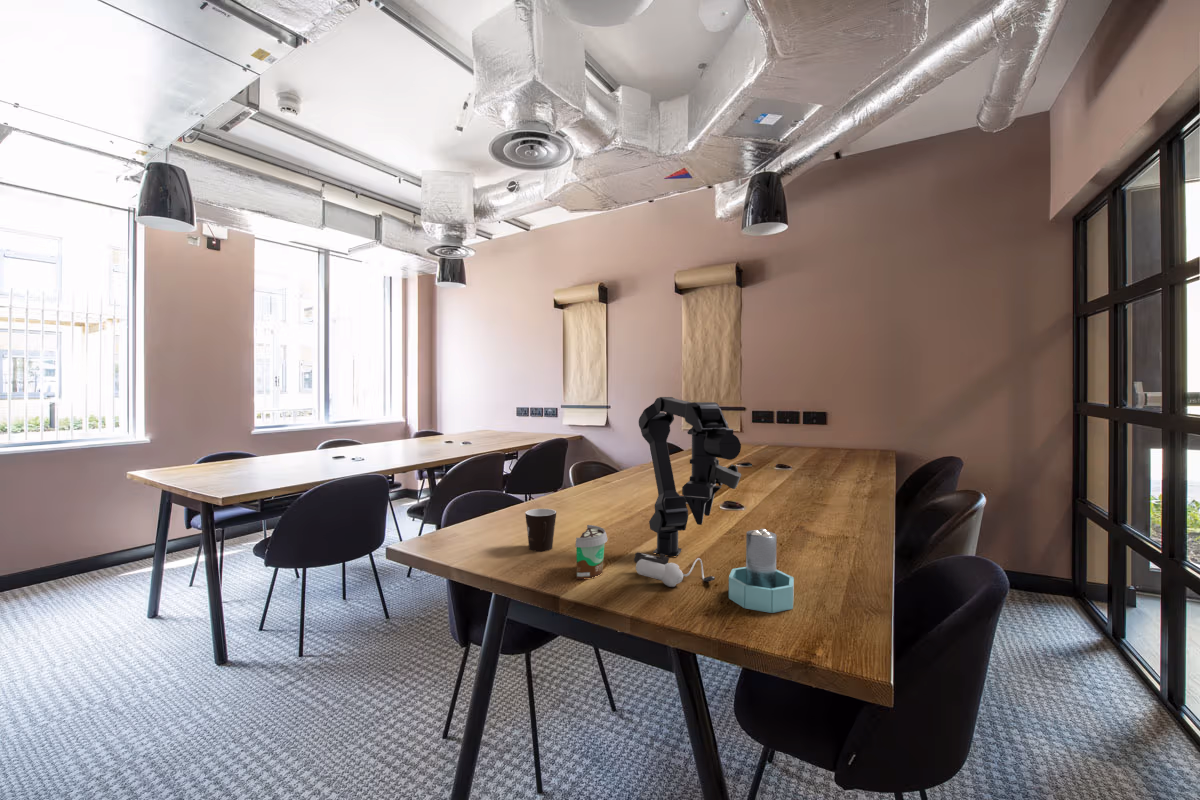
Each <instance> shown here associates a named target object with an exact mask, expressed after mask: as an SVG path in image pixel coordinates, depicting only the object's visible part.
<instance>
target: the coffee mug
mask: <svg viewBox="0 0 1200 800" xmlns="http://www.w3.org/2000/svg"><path fill="white" fill-rule="evenodd" d="M524 515H525V523H526V531H527V541H528V550H530V551H532V552H538V553H539V552H547V551H551V550H552V549H553V543H554V536H555V535H554V534H555V526H556V520H557V519H556V518H557V511H556V509H552V508H533V509H529V510H527V511H525V513H524Z"/></svg>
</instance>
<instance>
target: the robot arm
mask: <svg viewBox="0 0 1200 800" xmlns="http://www.w3.org/2000/svg"><path fill="white" fill-rule="evenodd" d="M674 416H676V417H680V418H683V419H684V421H685V422H686V423H687V424H689V425H690V426H691V428H690V429H688V430H687V435H690V436H691V458H690V459H689V465H690V464H691V475H690V476H689V481H687V482H686V483H684V484H683V485H682V486H681V494H682V496H681V495H680V494H679V493H678V492H677V488H676V483H675V478H674V473H673V468H672V461H671V457H670V452H669V447H668V438H669V435H670V433H671V424H672V423H673V422H674V420H675V417H674ZM638 426H639V429H640V433H641V436H642V437H643V438H644V440H645V441H646V442H647V443H648V444H649V449H650V455H651V461H652V465H653V467H652V468H653V472H654V476H655V483H656V489H657V493H658V494H657V495H658V496H657V498H656V501H655V504H654V513H653V514H652V516H651V518H650V519H649V521H648V522H649V523H648V524H649V529H650V530H651V531H653V532H655V533H656V548H655V549H654V550H653V551H652V554H653V553H656V554H655V555H657V554H664V555H668V556H667V557H671V556H677V555H678V556H679V555H680V554H681V552H682V551H681V550H683V549H682V548H680V547H679V532H680V531H686V529H687V525H688V519H689V510H688V507H689V509H690V511H691V514H692V517H693V518H694V520H695V523H696V525H698V526H702V525H703V521H704V516H705V517H709V516H710V515H711V510H712V506H713V503H714V498H715V494H716V493H717V492H718V491H719V490H720V489H721V488H722V485H725V486H727V487H728V488H730V489H733V490H735V489H736V488H737V487H738V485H739V481H740V480H741V477H742V474H741V472H739V468H738V466H737V465H734V464H731V465H729V466H728V467H727V466H723V465H720V459H723V460H728V461H731V460H735V459H736V458H737V457H738V456H739V455H740V452H741V448H742V444H741V441H740V439H739V437H738V436H736V435H735V433H734V429H733V428H729V424H728V422H727V419H726V418H725V416H724V413H723V411H722V409H721V407H720V405H719V403H718V402H714V401H712V402H711V401H710V402H708V401H707V402H706V401H703V402H702V401H697V402H696V401H694V402H693V401H692V402H691V401H686V400H683V399H678V398H675V397H672V396H659V397H657V398H656V399H655V401H654V402H653V403H651V405H649V406H648V407H646V408H645V409H644V410H643V412H642V413H641V414H640V417H639V418H638ZM687 505H688V507H687ZM678 556H677V557H678Z"/></svg>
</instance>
